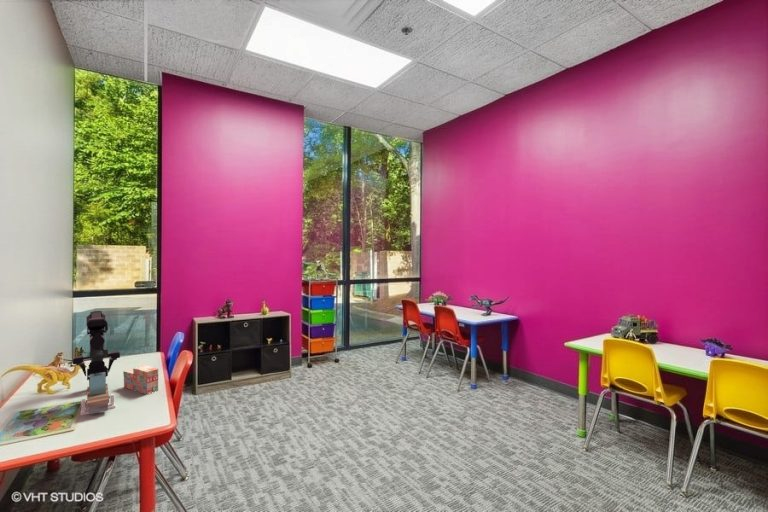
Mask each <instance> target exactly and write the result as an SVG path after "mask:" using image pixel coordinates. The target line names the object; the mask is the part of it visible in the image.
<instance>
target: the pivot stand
mask: <svg viewBox="0 0 768 512" xmlns="http://www.w3.org/2000/svg"><path fill="white" fill-rule="evenodd" d="M114 395H115V393H110V394H109V396H110V402H109V403H108V410H112V409H116V403H115V401H114V400H115V396H114ZM83 415H90V414H89V407H88V408H87V407H86V399H85V398H83V399H81V409H80V416H83Z"/></svg>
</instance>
